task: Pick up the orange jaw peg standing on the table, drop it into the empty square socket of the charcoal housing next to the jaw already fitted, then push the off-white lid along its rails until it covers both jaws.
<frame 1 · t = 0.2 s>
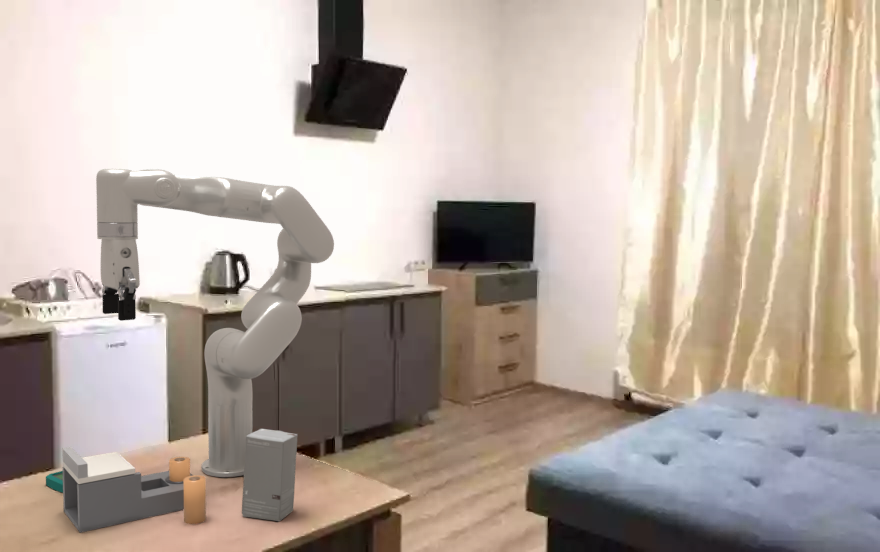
hand: (118, 316, 163), 36 cm above the table, tool pointing down, fingers open, 9 cm apart
skincare box: (269, 514, 157), on the table
housing: (131, 508, 157), on the table
lid: (98, 460, 153), point 11 cm above the table, slide at 10.0 cm
digital multimeter: (86, 482, 172), on the table
jaw peg: (194, 519, 153), on the table
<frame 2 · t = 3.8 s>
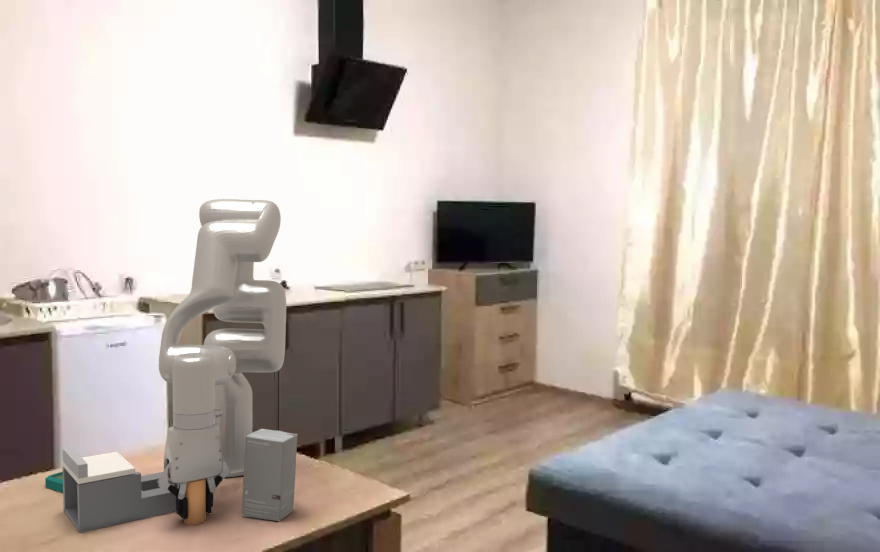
hand: (194, 513, 153), 1 cm above the table, tool pointing down, fingers closed on jaw peg, 4 cm apart
jaw peg: (194, 519, 153), on the table, touching gripper
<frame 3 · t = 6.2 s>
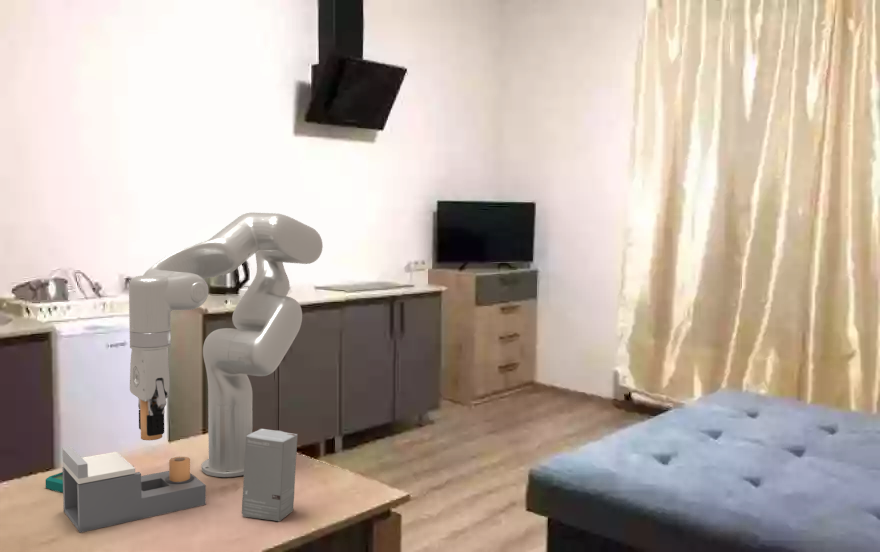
hand: (151, 430, 158), 15 cm above the table, tool pointing down, fingers closed on jaw peg, 4 cm apart
jaw peg: (151, 437, 158), point 14 cm above the table, touching gripper
everything else where it was.
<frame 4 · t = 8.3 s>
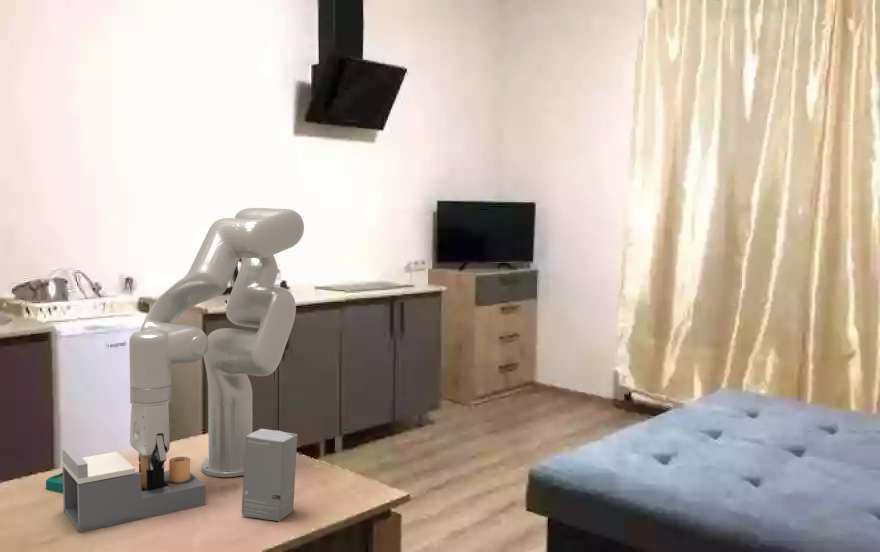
hand: (151, 484, 159), 4 cm above the table, tool pointing down, fingers closed on housing, jaw peg, 3 cm apart
jaw peg: (151, 490, 159), point 3 cm above the table, touching gripper
when the fingers open (4 cm above the table, at t = 8.9 s): jaw peg stays where it is, resting in housing.
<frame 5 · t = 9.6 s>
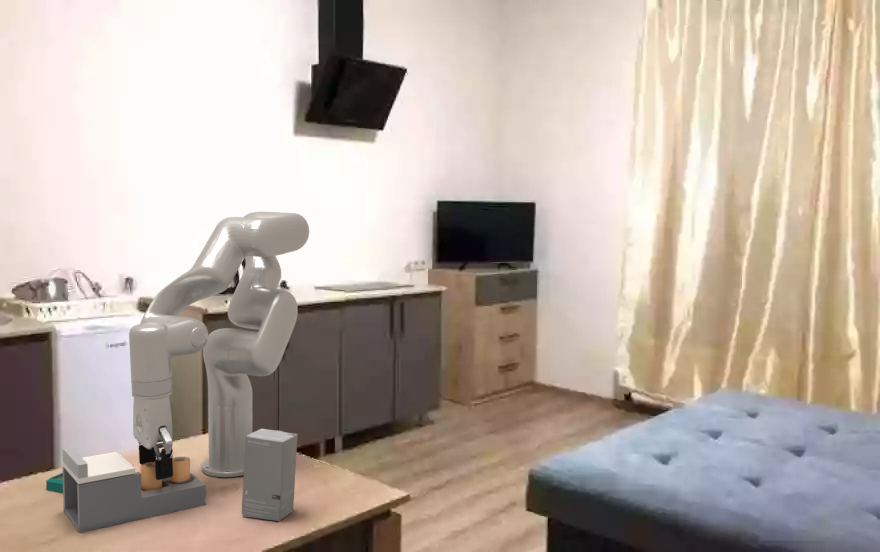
hand: (156, 470, 160), 7 cm above the table, tool pointing down, fingers open, 9 cm apart
jaw peg: (151, 504, 160), resting in housing
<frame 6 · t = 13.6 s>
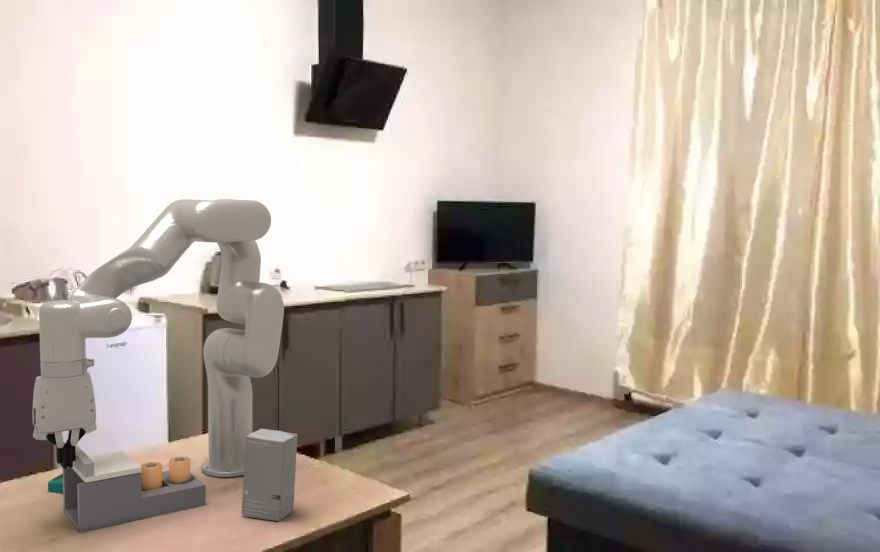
hand: (66, 465, 149), 11 cm above the table, tool pointing down, fingers closed
lid: (104, 459, 153), point 11 cm above the table, slide at 8.8 cm, touching gripper
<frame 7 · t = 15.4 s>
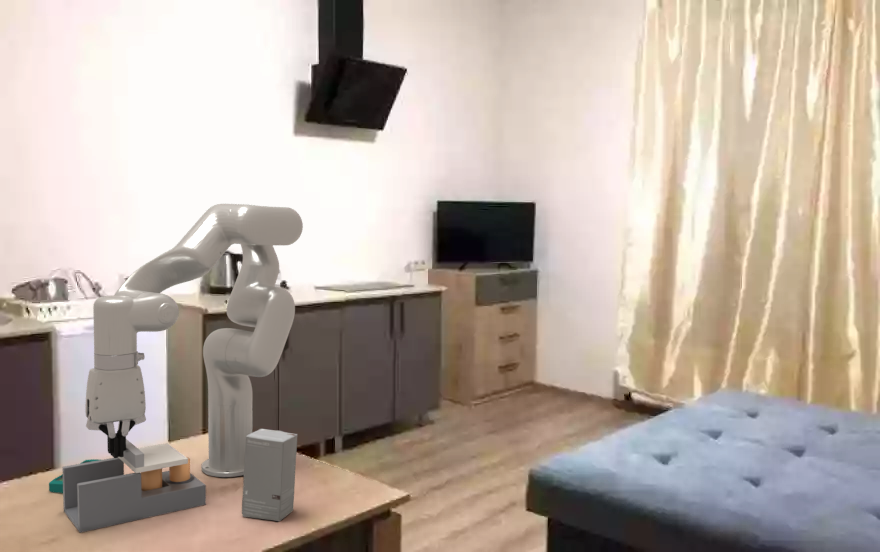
hand: (116, 455, 155), 11 cm above the table, tool pointing down, fingers closed
lid: (152, 451, 159), point 11 cm above the table, slide at -0.1 cm, touching gripper
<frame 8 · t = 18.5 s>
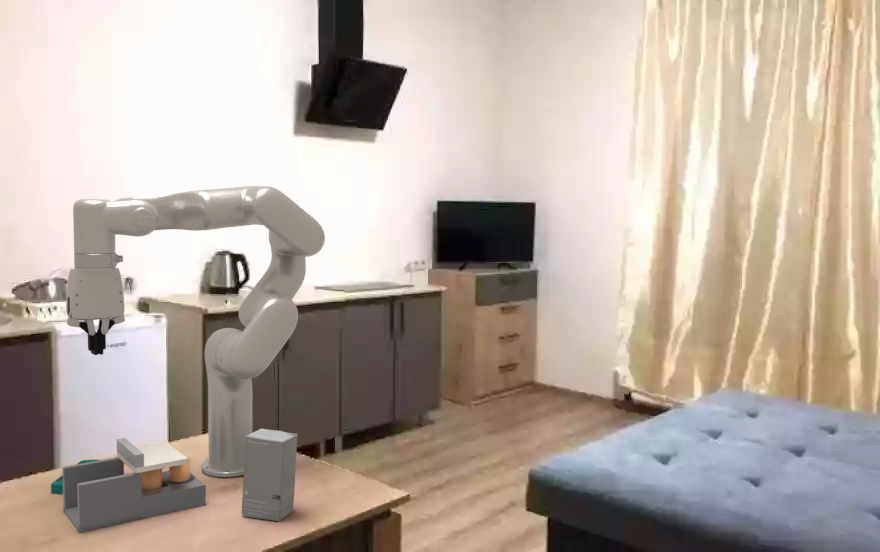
hand: (97, 353, 161), 29 cm above the table, tool pointing down, fingers closed
lid: (152, 451, 159), point 11 cm above the table, slide at 0.0 cm
at the end: jaw peg 0.3 cm from the target spot on the housing, point 0.0 cm above the housing's base; jaw peg tilted 0°; lid slide at 0.0 cm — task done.
